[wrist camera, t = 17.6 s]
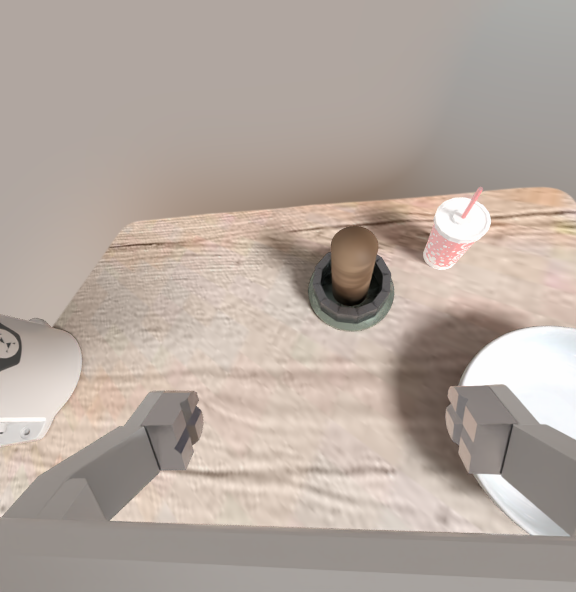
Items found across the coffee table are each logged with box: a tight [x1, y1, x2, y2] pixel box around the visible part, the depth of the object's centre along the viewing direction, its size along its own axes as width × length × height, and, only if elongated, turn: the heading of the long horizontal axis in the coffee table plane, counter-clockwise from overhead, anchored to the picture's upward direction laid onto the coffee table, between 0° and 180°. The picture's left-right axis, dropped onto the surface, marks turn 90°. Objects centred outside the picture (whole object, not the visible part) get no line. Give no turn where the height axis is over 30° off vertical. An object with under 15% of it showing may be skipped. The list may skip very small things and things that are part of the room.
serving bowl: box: [458, 326, 576, 536], centre depth 32 cm, size 21×21×7 cm
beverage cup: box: [423, 187, 491, 270], centre depth 39 cm, size 6×6×14 cm
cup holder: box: [308, 252, 394, 332], centre depth 43 cm, size 12×12×4 cm
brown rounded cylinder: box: [331, 226, 378, 306], centre depth 39 cm, size 5×5×12 cm
